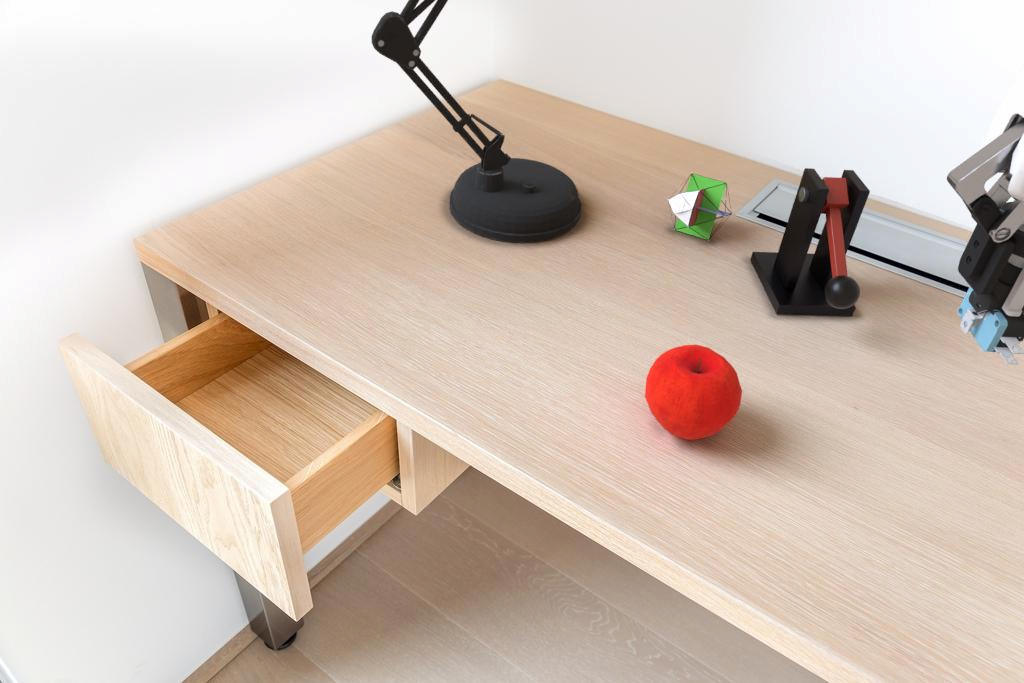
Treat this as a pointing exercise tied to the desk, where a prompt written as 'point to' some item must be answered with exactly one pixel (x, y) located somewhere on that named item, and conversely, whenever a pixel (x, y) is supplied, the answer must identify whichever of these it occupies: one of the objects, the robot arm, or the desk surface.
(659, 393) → the apple
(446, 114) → the desk lamp
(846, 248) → the bracket
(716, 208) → the geometric puzzle
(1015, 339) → the push button
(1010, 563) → the desk surface
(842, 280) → the lever
